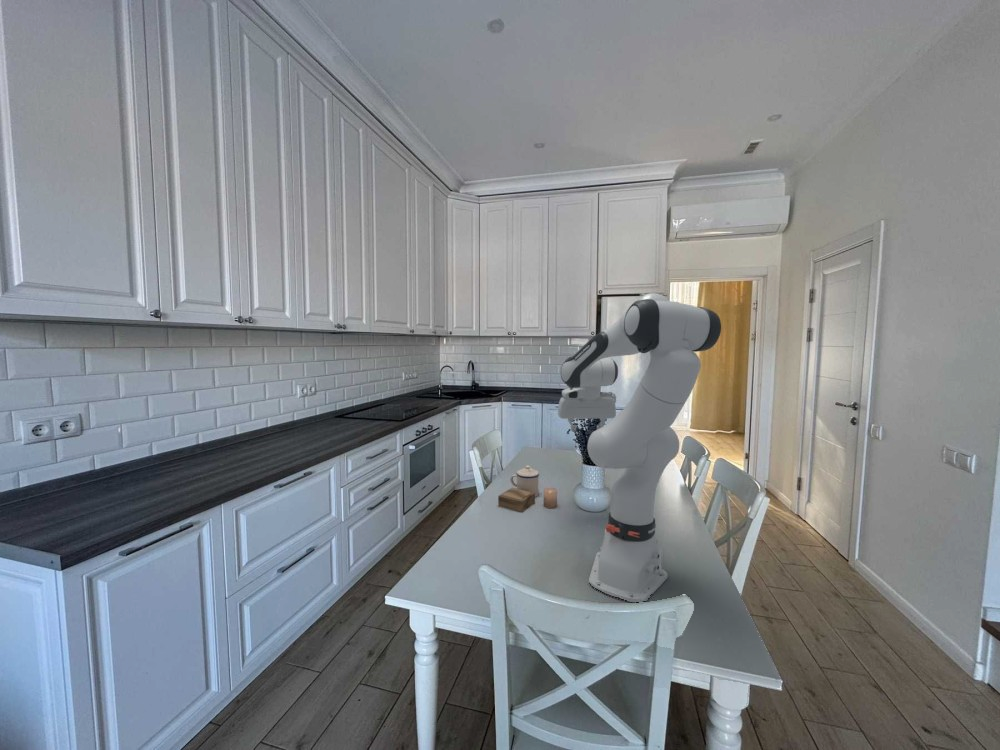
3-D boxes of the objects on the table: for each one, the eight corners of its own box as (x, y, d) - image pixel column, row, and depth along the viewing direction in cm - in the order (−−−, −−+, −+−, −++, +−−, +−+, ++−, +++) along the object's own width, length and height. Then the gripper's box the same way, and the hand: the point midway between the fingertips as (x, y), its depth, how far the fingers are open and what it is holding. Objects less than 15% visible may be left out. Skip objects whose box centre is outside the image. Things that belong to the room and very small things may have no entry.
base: (521, 512, 141) (521, 500, 141) (498, 506, 147) (498, 495, 146) (534, 503, 150) (534, 492, 149) (512, 497, 155) (512, 486, 155)
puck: (553, 509, 144) (553, 493, 143) (541, 506, 146) (541, 490, 146) (559, 505, 148) (559, 489, 147) (547, 502, 151) (547, 486, 150)
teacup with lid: (542, 492, 160) (542, 464, 159) (534, 500, 152) (534, 470, 151) (515, 487, 166) (515, 460, 165) (506, 495, 157) (506, 466, 156)
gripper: (613, 390, 143) (611, 428, 144) (557, 390, 142) (556, 428, 143) (619, 393, 136) (617, 432, 138) (561, 393, 135) (560, 432, 137)
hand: (586, 430), depth 140 cm, fingers open, 8 cm apart
